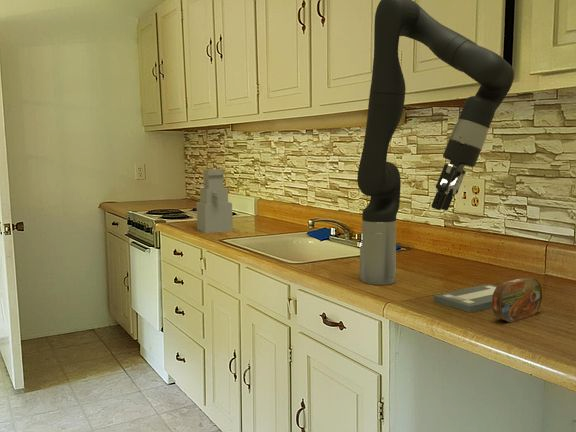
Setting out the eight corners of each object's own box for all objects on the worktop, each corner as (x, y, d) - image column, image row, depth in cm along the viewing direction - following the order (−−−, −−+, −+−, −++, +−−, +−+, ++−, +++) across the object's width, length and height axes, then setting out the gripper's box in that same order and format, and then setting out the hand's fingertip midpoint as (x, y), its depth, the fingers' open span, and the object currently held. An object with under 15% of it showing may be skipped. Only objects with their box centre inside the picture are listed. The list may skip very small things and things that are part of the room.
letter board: (433, 301, 131) (433, 294, 131) (488, 289, 142) (488, 283, 141) (470, 312, 122) (470, 305, 122) (525, 299, 132) (526, 293, 132)
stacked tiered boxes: (219, 226, 265) (218, 168, 261) (236, 232, 244) (235, 170, 240) (193, 227, 259) (191, 169, 256) (208, 234, 238) (207, 170, 235)
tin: (501, 325, 113) (502, 286, 112) (488, 321, 116) (489, 283, 115) (542, 313, 122) (544, 276, 121) (529, 309, 124) (531, 273, 123)
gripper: (455, 142, 132) (430, 204, 135) (444, 133, 119) (417, 202, 122) (485, 151, 129) (459, 215, 131) (477, 144, 116) (449, 214, 119)
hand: (439, 209), depth 127 cm, fingers open, 8 cm apart
